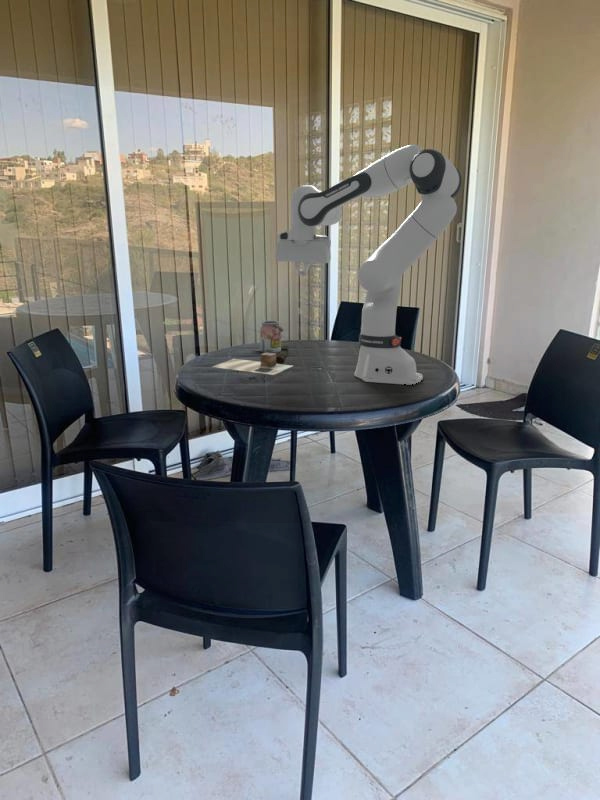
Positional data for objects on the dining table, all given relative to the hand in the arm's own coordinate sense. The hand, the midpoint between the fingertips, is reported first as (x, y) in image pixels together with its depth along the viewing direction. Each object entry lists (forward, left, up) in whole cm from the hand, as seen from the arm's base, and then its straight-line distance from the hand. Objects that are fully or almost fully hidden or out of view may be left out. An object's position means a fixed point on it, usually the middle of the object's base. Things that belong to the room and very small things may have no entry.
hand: (302, 275), depth 206 cm
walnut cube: (+4, +19, -30) cm, 35 cm away
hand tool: (+6, +4, -32) cm, 32 cm away
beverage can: (+17, -9, -31) cm, 37 cm away
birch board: (+8, +22, -31) cm, 39 cm away
